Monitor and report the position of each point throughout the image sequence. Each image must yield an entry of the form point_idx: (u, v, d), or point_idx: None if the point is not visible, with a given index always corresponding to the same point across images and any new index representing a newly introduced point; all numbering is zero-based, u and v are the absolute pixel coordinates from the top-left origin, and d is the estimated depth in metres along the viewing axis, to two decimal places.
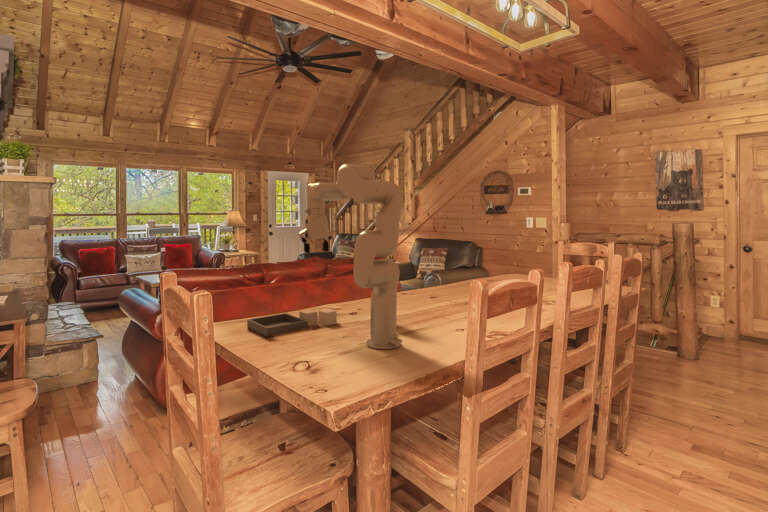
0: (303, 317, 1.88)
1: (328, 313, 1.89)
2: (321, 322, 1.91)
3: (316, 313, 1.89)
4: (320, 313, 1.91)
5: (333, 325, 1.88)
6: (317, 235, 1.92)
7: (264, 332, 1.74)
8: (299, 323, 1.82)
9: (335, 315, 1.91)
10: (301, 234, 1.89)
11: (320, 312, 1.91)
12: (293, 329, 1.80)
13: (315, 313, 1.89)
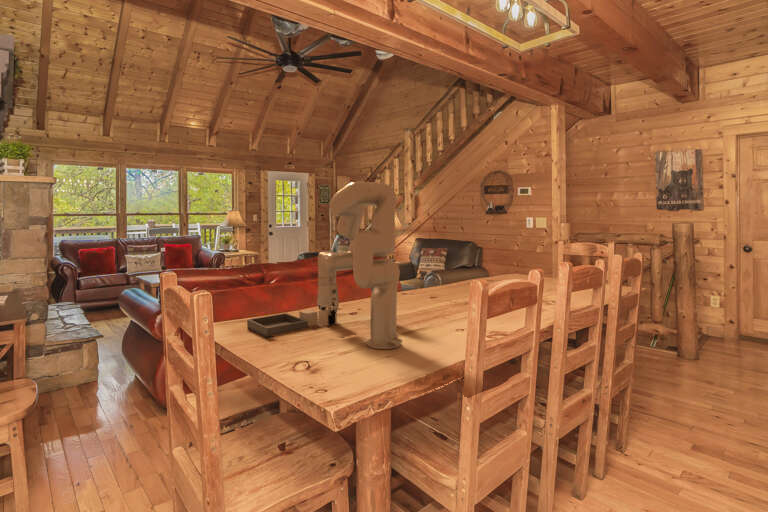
0: (303, 317, 1.88)
1: (328, 313, 1.89)
2: (321, 322, 1.91)
3: (316, 313, 1.89)
4: (320, 313, 1.91)
5: (333, 325, 1.88)
6: None
7: (264, 332, 1.74)
8: (299, 323, 1.82)
9: (335, 315, 1.91)
10: None
11: (320, 312, 1.91)
12: (293, 329, 1.80)
13: (315, 313, 1.89)
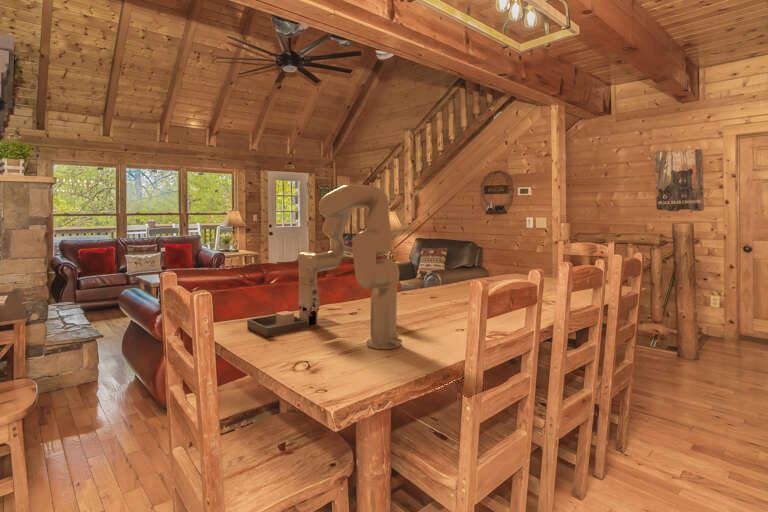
0: (303, 317, 1.88)
1: (285, 315, 1.84)
2: (278, 325, 1.86)
3: None
4: (277, 315, 1.86)
5: (333, 325, 1.88)
6: None
7: (264, 332, 1.74)
8: (299, 323, 1.82)
9: (293, 317, 1.87)
10: None
11: (277, 314, 1.86)
12: (293, 329, 1.80)
13: None
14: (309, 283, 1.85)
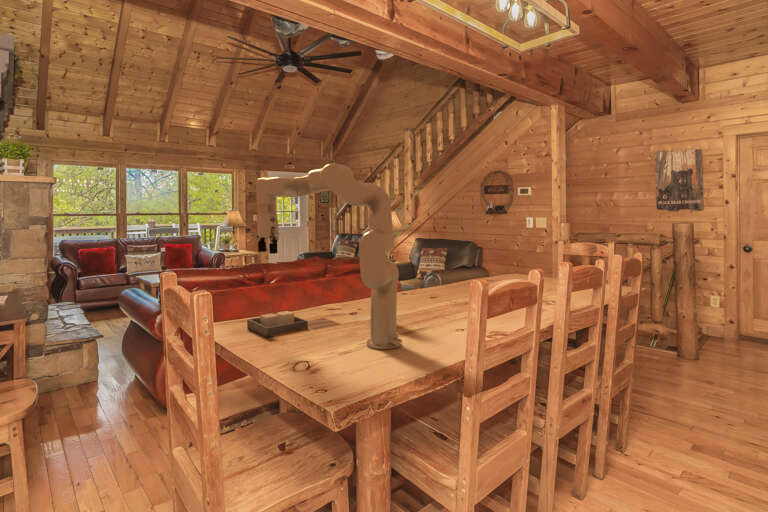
0: (263, 321, 1.81)
1: (285, 315, 1.84)
2: None
3: (277, 317, 1.82)
4: None
5: (333, 325, 1.88)
6: None
7: (264, 332, 1.74)
8: (299, 323, 1.82)
9: (293, 317, 1.87)
10: None
11: (277, 314, 1.86)
12: (293, 329, 1.80)
13: (276, 317, 1.82)
14: (267, 210, 1.74)
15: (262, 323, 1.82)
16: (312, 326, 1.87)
